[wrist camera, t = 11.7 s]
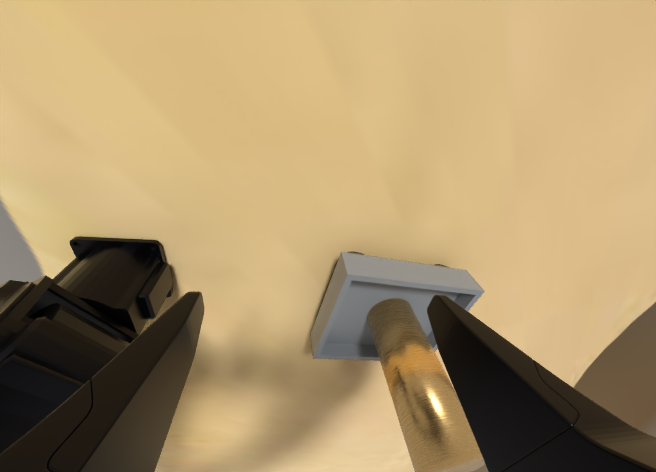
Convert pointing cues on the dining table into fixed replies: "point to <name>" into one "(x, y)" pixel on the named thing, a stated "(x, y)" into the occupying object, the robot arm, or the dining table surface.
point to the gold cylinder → (422, 392)
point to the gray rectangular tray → (375, 286)
